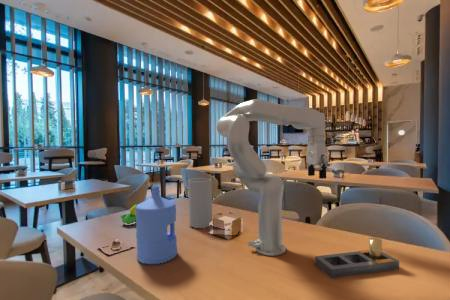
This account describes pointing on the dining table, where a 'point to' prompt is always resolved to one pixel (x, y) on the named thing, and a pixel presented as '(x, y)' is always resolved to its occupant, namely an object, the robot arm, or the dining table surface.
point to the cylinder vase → (200, 202)
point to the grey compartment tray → (354, 264)
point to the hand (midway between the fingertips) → (316, 176)
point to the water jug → (156, 229)
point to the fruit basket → (130, 216)
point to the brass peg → (375, 249)
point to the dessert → (116, 244)
